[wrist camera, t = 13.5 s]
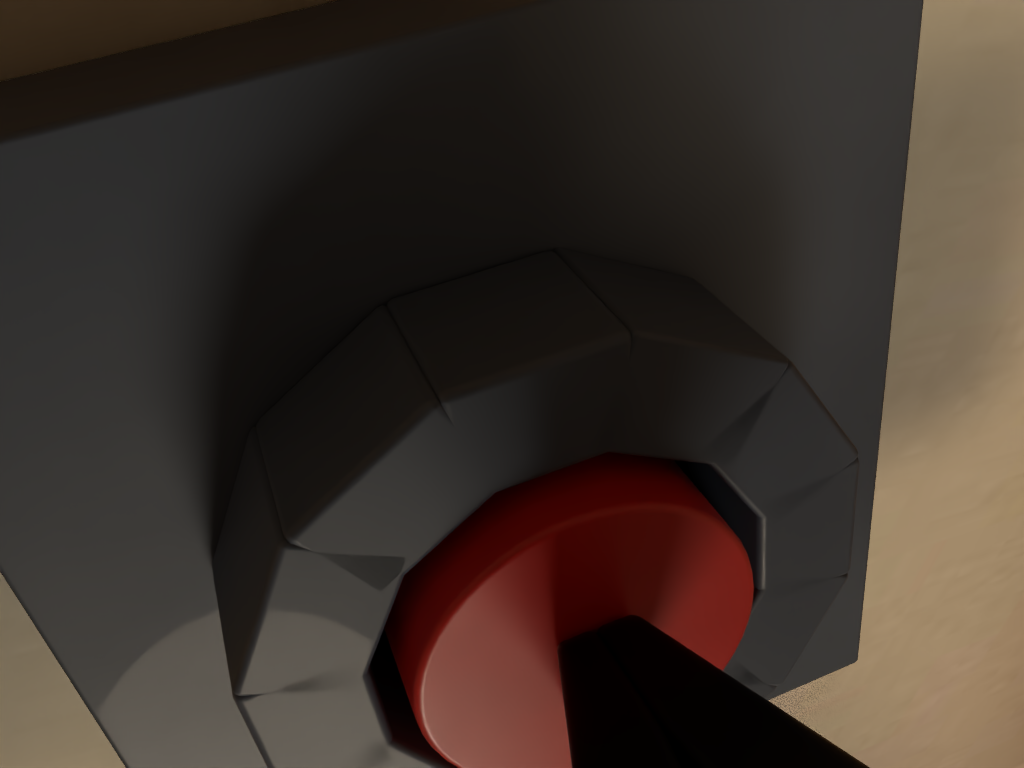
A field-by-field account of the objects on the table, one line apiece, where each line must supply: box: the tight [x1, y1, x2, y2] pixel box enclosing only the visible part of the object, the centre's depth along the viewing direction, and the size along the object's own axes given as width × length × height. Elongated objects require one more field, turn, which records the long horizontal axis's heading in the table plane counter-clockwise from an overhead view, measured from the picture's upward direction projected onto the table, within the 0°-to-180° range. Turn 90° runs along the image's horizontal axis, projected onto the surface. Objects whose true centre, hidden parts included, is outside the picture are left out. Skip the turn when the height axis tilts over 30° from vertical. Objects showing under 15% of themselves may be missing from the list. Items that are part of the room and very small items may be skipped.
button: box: [384, 452, 754, 768], centre depth 10 cm, size 4×4×2 cm
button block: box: [0, 0, 923, 768], centre depth 11 cm, size 11×10×4 cm
